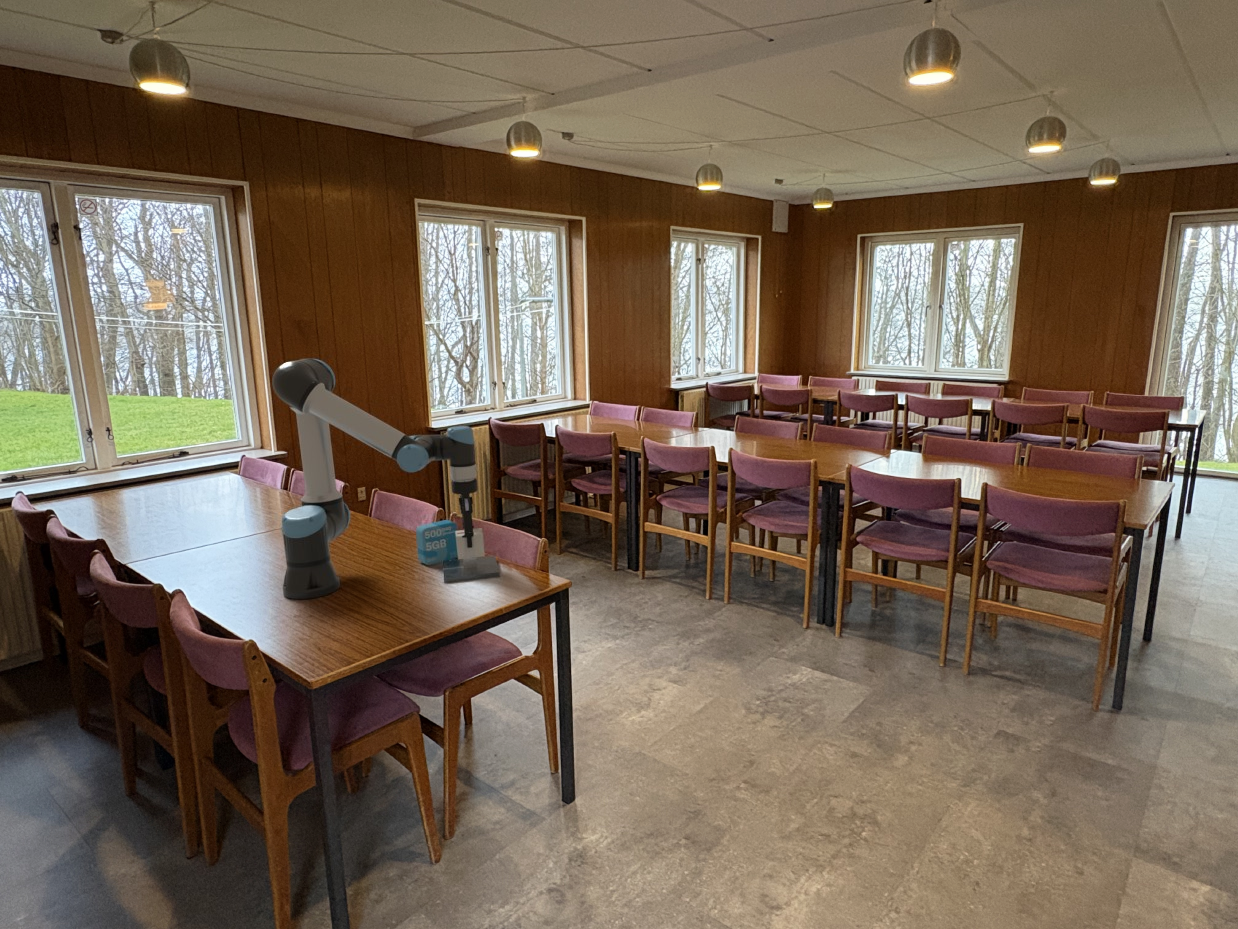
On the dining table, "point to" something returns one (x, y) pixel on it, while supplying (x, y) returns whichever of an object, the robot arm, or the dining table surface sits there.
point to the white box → (477, 543)
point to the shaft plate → (470, 569)
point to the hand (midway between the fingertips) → (469, 553)
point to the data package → (436, 542)
